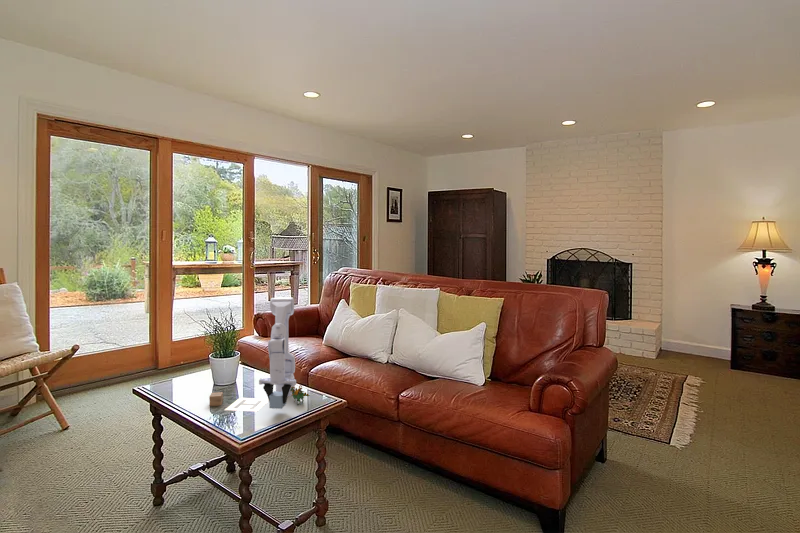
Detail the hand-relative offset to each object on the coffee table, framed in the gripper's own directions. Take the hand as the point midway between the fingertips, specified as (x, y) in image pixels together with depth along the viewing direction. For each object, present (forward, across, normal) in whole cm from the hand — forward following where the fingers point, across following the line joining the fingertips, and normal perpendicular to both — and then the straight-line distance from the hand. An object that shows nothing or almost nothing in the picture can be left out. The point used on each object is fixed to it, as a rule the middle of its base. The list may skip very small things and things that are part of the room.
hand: (277, 402), depth 176 cm
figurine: (+5, +5, +12) cm, 14 cm away
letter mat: (+5, -16, +8) cm, 19 cm away
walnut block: (+5, -30, +7) cm, 31 cm away
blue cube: (+2, 0, 0) cm, 2 cm away
